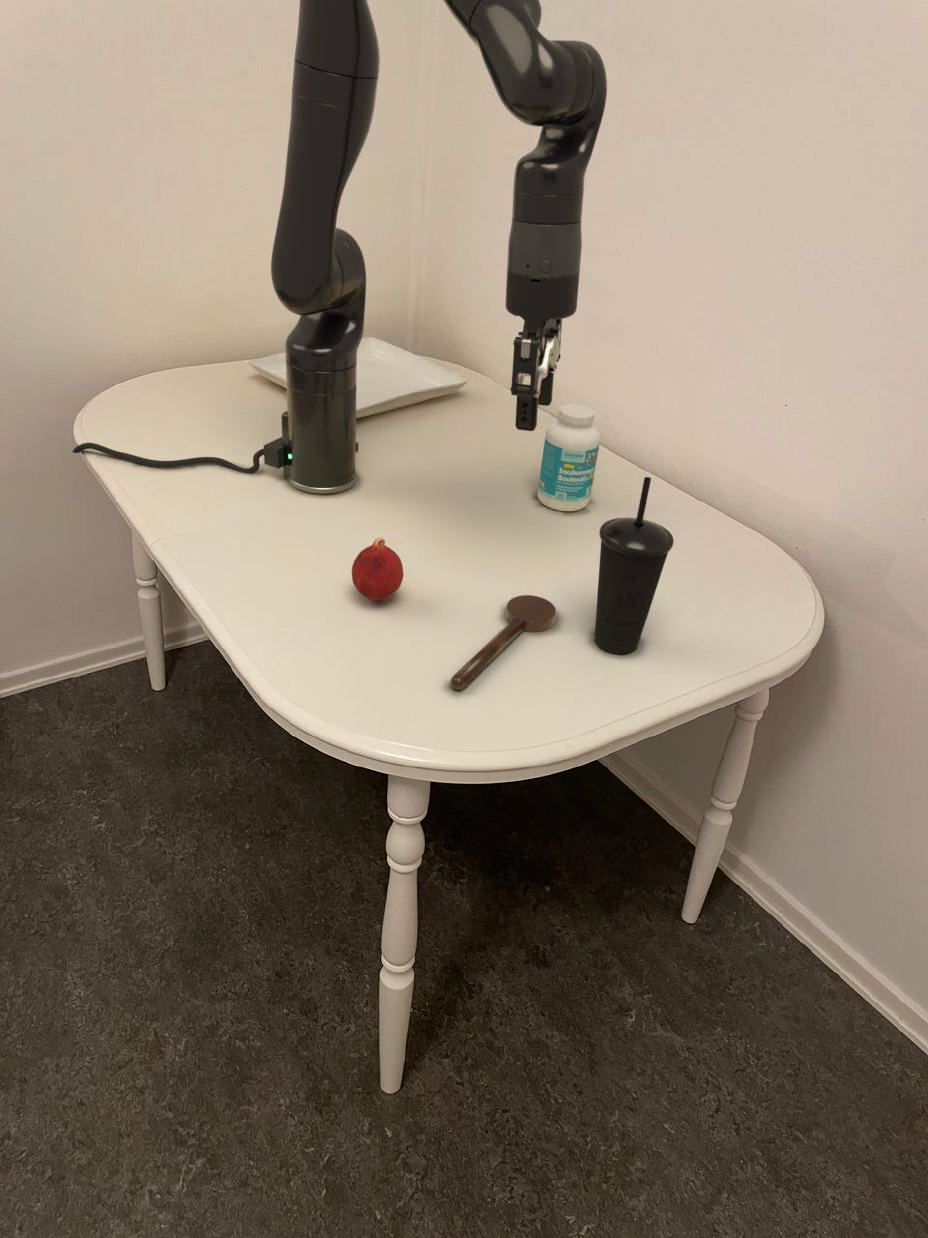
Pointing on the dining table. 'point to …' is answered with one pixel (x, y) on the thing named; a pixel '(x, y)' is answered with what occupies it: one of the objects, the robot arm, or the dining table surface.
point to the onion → (377, 571)
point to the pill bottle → (569, 459)
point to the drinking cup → (628, 577)
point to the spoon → (509, 633)
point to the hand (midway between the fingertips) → (533, 416)
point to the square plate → (381, 377)
